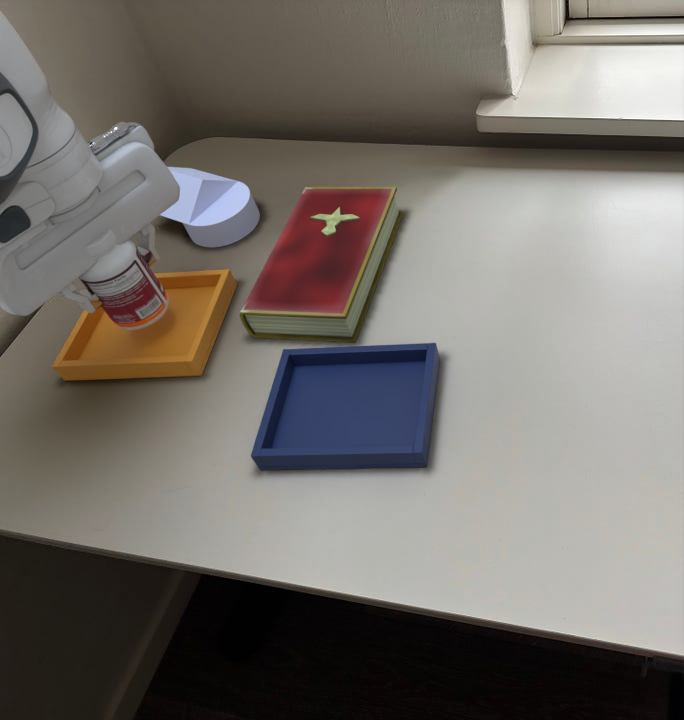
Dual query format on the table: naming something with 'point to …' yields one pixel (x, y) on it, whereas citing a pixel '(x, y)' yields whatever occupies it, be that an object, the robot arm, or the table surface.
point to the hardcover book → (324, 265)
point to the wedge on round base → (212, 207)
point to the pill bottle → (124, 283)
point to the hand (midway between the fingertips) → (123, 284)
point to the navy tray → (349, 408)
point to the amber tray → (153, 333)
